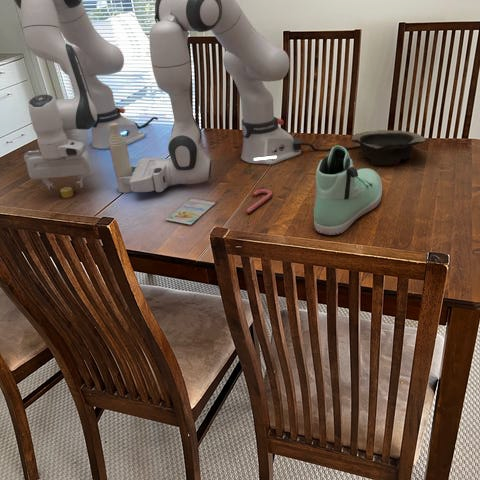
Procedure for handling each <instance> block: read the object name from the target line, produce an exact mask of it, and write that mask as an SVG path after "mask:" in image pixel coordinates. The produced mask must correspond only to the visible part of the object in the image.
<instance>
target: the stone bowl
mask: <svg viewBox="0 0 480 480" xmlns="http://www.w3.org/2000/svg"><path fill="white" fill-rule="evenodd" d="M425 141H427V138H426V137H425V136H423V135H420V134H419V133H415V132H411V131H406V130H405V131H404V130H393V129H392V130H390V129H389V130H386V129H385V130H384V129H378V130H368V131H362V132H359V133H355V134H353V135H352V136H351V142H353V143H355V144H358V145H359V146H360V148H359V149H360V151H361V153H362V154H363V156H364V157H366V158H367V159H369V160H370V164H371V165H373V166H377V165H378V166H389V165H397V164H399V163H401V160H410V159H411V158H412V155H413V150H414V149H413V148H414V146H416V145H419V144H422V143H424V142H425Z"/></svg>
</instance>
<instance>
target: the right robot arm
mask: <svg viewBox="0 0 480 480" xmlns="http://www.w3.org/2000/svg"><path fill="white" fill-rule="evenodd" d="M154 20H155V21H154V22H155V23H154V24H153V25H152V26H151V27H150V29H149V53H150V54H149V55H150V63H151V66H152V67H151V68H152V72H153V76H154V79H155V82H156V85H157V87H158V88H159V89H160V90H161V91H162V92H164V93H166V94H167V96H168V97H169V100H170V104H171V109H172V115H173V125H172V128H171V132H170V138H169V141H168V144H167V145H168V146H167V149H168V150H167V151H168V153H169V158H159V157H142V158H139V160H138V162H137V164H134V165H131V168H132V173H133V175H132V176H129V177H125V176H120V177H119V182H120V183H128V184H130V188H131V191H132V192H134V193H148V192H149V193H150V192H153V191H155V192H156V193H161V192H163V191H164V190H165V189H166V188H169V186H176V185H180V184H181V185H195V184H202V183H206V182H207V181H209V180H210V178H211V173H212V163H213V162H212V159H211V158H210V157H209V156H208V155H207V153H205V151H204V150H203V147H202V146H201V144H200V143H201V140H202V137H203V135H202V134H203V133H202V130H201V127H200V125H199V124H198V122H197V120H196V118H195V117H194V113H193V107H192V99H191V95H190V90H191V84H192V83H191V81H192V66H191V58H190V53H189V48H188V38H189V35H190V32H198V33H205V32H209V31H211V33H212V34H213V36H215V38H216V40H217V41H218V42H219V44H220V45H221V46H222V48H223V49H224V50H225V51H224V54H223V58H222V59H223V60H222V61H223V67H224V69H225V71H226V72H227V73H228V74H229V75H230V76H231V78H232V80H233V81H234V84H235V86H236V88H237V91H238V94H239V97H240V103H241V113H242V114H241V115H242V119H241V132H242V136H243V140H242V148H241V149H242V150H241V155H240V159H241V160H242V161H243V162H245V163H248V164H249V163H250V164H263V165H276V164H277V163H280V162H282V161H285V160H288V159H291V158H294V157H296V156H299V155H301V154H302V146H308V147H310V148H311V149H312V150H313V151H316V152H331V149H332V148H333V147H331V148H316V147H314V145H313V144H312V143H309V142H302V141H301V138H299V137H295V138H294V137H293V135H292V134H291V133H289V132H288V131H286V130H284V129H283V128H282V127H280V126H283V125H284V122H285V121H284V119H281V118H278V117H276V116H275V115H274V114H275V113H274V97H273V94H272V92H271V91H269V90H268V88H267V87H266V86H265V83H264V82H267V83H270V82H279V81H281V80H283V79H284V78H285V77H286V76H287V74H288V72H289V69H290V58H289V55H288V53H287V52H286V51H285V50H284V49H282V48H280V47H278V46H276V45H275V44H273V43H272V42H271V41H270V40H268V39H267V38H266V37H265V36H264V35H263V34H262V33H261V32H259V30H257V29H256V28H255V27H254V25H253V24H252V23H251V21H250V20H249V18H248V17H247V16H246V14H245V12H244V11H243V9H242V7H241V6H240V5H239V3H238V2H237V0H155V3H154ZM279 125H280V126H279ZM344 148H345V149H346V150H347V151H348V150H353V149H361V148H360V145H354V146H345V147H344Z"/></svg>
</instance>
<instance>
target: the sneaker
mask: <svg viewBox="0 0 480 480" xmlns="http://www.w3.org/2000/svg"><path fill="white" fill-rule="evenodd" d="M331 148H332V149H331ZM331 148H330V149H331V151H329V154H327V155H326V156H325V157H324V158H322V159H321V160H320V161H319V163H318V164H317V165H318V166H317V168H316V172H315V201H314V207H313V225H314V229H315V231H316V232H318V233H320V234H323V235H326V236H327V235H328V236H336V235H339V234H342V233H344V232H345V231H347V230H348V229H349V228H350V227H351V226H352V225H353V224H354V222H356V221H357V220H358V219H359V218H360V217H362V216H363V215H365V214H367V213H370V212H372V210H374V209H375V208H377V207H378V205H380V203H381V200H382V196H383V184H382V183H383V182H382V179H381V176H380V175H379V173H378V172H377V171H376V170H374V169H372V168H367V167H365V168H358V169H357V168H355V167H354V161H353V159H352V158H351V156H350V153H349V152H348V149H347V150H346V149H345V147H344V146H342V145H334V146H333V147H331ZM343 230H344V231H343ZM319 231H320V232H319ZM322 232H323V233H322ZM339 232H340V233H339ZM326 233H327V234H326ZM328 233H329V234H328ZM335 233H337V234H335Z"/></svg>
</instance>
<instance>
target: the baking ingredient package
mask: <svg viewBox="0 0 480 480" xmlns="http://www.w3.org/2000/svg"><path fill="white" fill-rule="evenodd" d="M215 204H216V202H214V201H209V200H201V199H198V198H197V199H196V198H190V199H189V200H187V201H186V202H185V203H184V204H183V205H181V206H180V207H179V208H177V209H176V210H175V211H173V213H172V214H170V215H169V216H168V217H166V218H165V219H164V220H165V221H168V222H169V221H170V222H176V223H179V224H186V225H189V226H190V225H191V226H192V224H193V223H195V222H196V221H198V219H199V218H200V217H201V216H203V215H204V214H205V213H206V212H207V211H209V210H210V208H212V207H213V206H214V205H215Z"/></svg>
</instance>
